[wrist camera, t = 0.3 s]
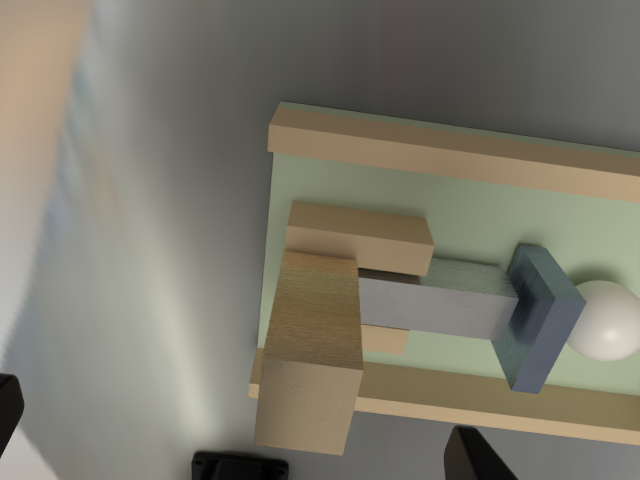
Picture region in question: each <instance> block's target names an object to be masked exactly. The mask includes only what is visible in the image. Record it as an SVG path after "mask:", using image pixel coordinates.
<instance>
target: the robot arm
mask: <svg viewBox="0 0 640 480" xmlns="http://www.w3.org/2000/svg"><path fill="white" fill-rule="evenodd" d="M23 411H24V399H23V395H22V391H21V387H20V383H19V380H18V378H17V377H16V376H15V375H13V374H4V373H0V458H1V456H2V454H3V452H4V450H5V448H6V446H7V444H8V442H9V440H10V438H11V436H12V434H13V432H14V430H15V428H16V426H17V424H18V422H19V420H20V418H21V416H22V414H23ZM444 468H445V478H446V480H518V478H517V477H516V476H515V475H514V474H513V472H512V471H511V470H510V469H509V467H508V466H507V465H506V464H505V463H504V461H503V460H502V459H501V458H500V456H499V455H498V454H497V453H496V452H495V450H494V449H493V448H492V447H491V445H490V444H489V443H488V442H487V441H486V439H485V438H484V437H483V436H482V435H481V433H480V432H479V431H478V430H477V429H476V428H475V427H472V426H464V425H456V426H455V427H454V428H453V430H452V432H451V435H450V438H449V440H448V443H447V445H446V448H445V452H444ZM288 474H289V466H288V464H286V463H283V462H275V461H266V460H258V459H250V458H241V457H233V456H224V455H216V454H207V453H195V454H194V456H193V459H192V480H288Z"/></svg>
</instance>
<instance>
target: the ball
mask: <svg viewBox="0 0 640 480" xmlns="http://www.w3.org/2000/svg"><path fill="white" fill-rule="evenodd" d="M575 287H576V288H577V290H578V291H579V292H580V294H581V295H582V296H583V298H584V299H585V300H586V302H587V303H586V305H585V307H584V309H583V311H582V313H581V315H580V316H579V318H578V320H577V322H576V324H575V326H574V328H573V330H572V332H571V333H570V335H569V337H568V339H567V341H566V343H567V345H568V346H569V347H570V348H572V349H573V350H574V351H575V352H577V353H579V354H580V355H582V356H584V357H587V358H589V359H593V360H597V361H606V362H607V361H617V360H621V359H624V358H627V357H629V356H631V355H633V354H634V353H635V352H637V351H638V350H639V349H640V299H639V298H638V297H637V296H636V295H635V294H634V293H633V292H632V291H630V290H629V289H627V288H626V287H624V286H622V285H620V284H617V283H614V282H609V281H602V280H595V281H588V282H584V283H581V284H579V285H577V286H575Z"/></svg>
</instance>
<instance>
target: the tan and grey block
mask: <svg viewBox="0 0 640 480" xmlns="http://www.w3.org/2000/svg"><path fill="white" fill-rule="evenodd" d="M586 303H587V302H586V300H585V299H584V298H583V296H582V295H581V294H580V292H579V291H578V290H577V288H576V287H575V286H574V284H573V283H572V282H571V280H570V279H569V278H568V276H567V275H566V274H565V272H564V271H563V270H562V268H561V267H560V266H559V264H558V263H557V262H556V260H555V259H554V258H553V256H552V255H551V254H550V252H549V251H548V250H547V248H543V247H536V246H528V245H521V244H520V246H519V248H518V251H517V253H516V256H515V258H514V261H513V263H512V266H511V268H510V270H509V273H508V275H506V274H505V272H504V270H503V268H502V267H497V266H490V265H482V264H475V263H467V262H460V261H452V260H445V259H437V258H431V261H430V264H429V268H428V271H427V274H426V276H421V275H413V274H405V273H398V272H390V271H383V270H375V269H368V268H360V267H358V263H357V261H356V260H348V259H341V258H333V257H326V256H318V255H311V254H303V253H296V252H288V251H284V253H283V258H282V262H281V267H280V272H279V277H278V282H277V287H276V292H275V296H274V301H273V306H272V311H271V316H270V321H269V325H268V330H267V335H266V340H265V345H264V350H263V354H262V361H261V372H260V383H259V394H258V405H257V415H256V426H255V437H254V445H257V446H266V447H274V448H282V449H291V450H299V451H307V452H316V453H324V454H333V455H341V456H343V452H344V448H345V444H346V440H347V436H348V431H349V427H350V423H351V419H352V415H353V411H354V407H355V403H356V399H357V395H358V391H359V387H360V383H361V379H362V375H363V371H364V369H363V351H362V334H361V324H369V325H377V326H385V327H392V328H400V329H408V330H416V331H424V332H431V333H439V334H447V335H455V336H462V337H470V338H478V339H486V340H491V343H492V345H493V348H494V350H495V353H496V355H497V358H498V360H499V363H500V365H501V367H502V370H503V372H504V375H505V377H506V380H507V382H508V385H509V387H510V390H511V391H516V392H524V393H532V394H539V392H540V390H541V388H542V386H543V385H544V383H545V381H546V379H547V377H548V375H549V373H550V371H551V369H552V368H553V366H554V364H555V362H556V360H557V358H558V356H559V354H560V352H561V350H562V349H563V347H564V345H565V343H566V341H567V339H568V337H569V335H570V333H571V332H572V330H573V328H574V326H575V324H576V322H577V320H578V318H579V316H580V315H581V313H582V311H583V309H584V307H585V305H586Z"/></svg>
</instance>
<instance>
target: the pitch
mask: <svg viewBox="0 0 640 480" xmlns="http://www.w3.org/2000/svg"><path fill="white" fill-rule="evenodd" d="M267 152H274V156H273V168H272V180H271V192H270V204H269V215H268V227H267V239H266V251H265V263H264V275H263V286H262V298H261V310H260V322H259V334H258V345H257V351H256V356H255V360H254V365H253V369H252V374H251V378H250V383H249V394H248V397H249V398H257V399H258V394H259V383H260V372H261V361H262V354H263V350H264V345H265V340H266V335H267V330H268V325H269V321H270V316H271V311H272V306H273V301H274V296H275V292H276V287H277V282H278V277H279V272H280V267H281V262H282V258H283V253H284V251H288V252H296V253H303V254H311V255H318V256H326V257H333V258H341V259H348V260H356V261H357V263H358V267H360V268H368V269H375V270H383V271H390V272H398V273H405V274H413V275H421V276H426V274H427V271H428V268H429V264H430V261H431V258H437V259H445V260H452V261H460V262H467V263H475V264H482V265H490V266H497V267H502V268H503V270H504V272H505V274H506V275H508V273H509V270H510V268H511V266H512V263H513V261H514V258H515V256H516V253H517V251H518V248H519V246H520V244H521V245H528V246H536V247H543V248H547V250H548V251H549V252H550V254H551V255H552V256H553V258H554V259H555V260H556V262H557V263H558V264H559V266H560V267H561V268H562V270H563V271H564V272H565V274H566V275H567V276H568V278H569V279H570V280H571V282H572V283H573V284H574V286H577V285H579V284H581V283H584V282H588V281H595V280H602V281H609V282H614V283H617V284H620V285H622V286H624V287H626V288H627V289H629V290H630V291H632V292H633V293H634V294H635V295H636V296H637V297H638V298H639V299H640V152H635V151H628V150H621V149H614V148H607V147H600V146H593V145H586V144H579V143H572V142H565V141H558V140H551V139H544V138H537V137H530V136H523V135H516V134H509V133H502V132H495V131H488V130H481V129H474V128H467V127H460V126H453V125H446V124H439V123H432V122H425V121H418V120H411V119H404V118H397V117H390V116H383V115H376V114H369V113H362V112H355V111H348V110H341V109H334V108H327V107H320V106H313V105H306V104H299V103H292V102H285V101H280V103H279V105H278V107H277V109H276V111H275V114H274V116H273V118H272V120H271V122H270V124H269V135H268V148H267ZM361 334H362V351H363V369H364V371H363V375H362V379H361V383H360V387H359V391H358V395H357V399H356V403H355V407H354V410H355V411H363V412H372V413H380V414H388V415H396V416H404V417H412V418H421V419H429V420H437V421H445V422H453V423H461V424H470V425H478V426H486V427H494V428H502V429H510V430H519V431H527V432H535V433H543V434H551V435H559V436H568V437H576V438H584V439H592V440H600V441H608V442H617V443H625V444H633V445H640V349H639V350H638V351H637V352H635V353H634V354H633V355H631V356H629V357H627V358H624V359H621V360H617V361H607V362H606V361H597V360H593V359H589V358H587V357H584V356H582V355H580V354H579V353H577V352H575V351H574V350H573V349H572V348H570V347H569V346H568V345H567V343H565V345H564V347H563V349H562V350H561V352H560V354H559V356H558V358H557V360H556V362H555V364H554V366H553V368H552V369H551V371H550V373H549V375H548V377H547V379H546V381H545V383H544V385H543V386H542V388H541V390H540V392H539V394H532V393H524V392H516V391H511V390H510V387H509V385H508V382H507V380H506V377H505V375H504V372H503V370H502V367H501V365H500V363H499V360H498V358H497V355H496V353H495V350H494V348H493V345H492V343H491V340H486V339H478V338H470V337H462V336H455V335H447V334H439V333H431V332H424V331H416V330H408V329H400V328H392V327H385V326H377V325H369V324H361Z"/></svg>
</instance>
